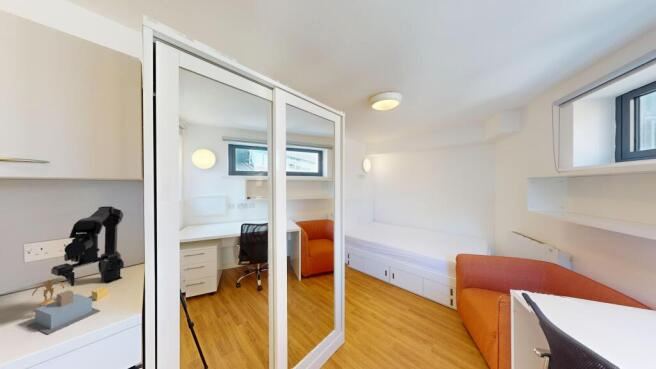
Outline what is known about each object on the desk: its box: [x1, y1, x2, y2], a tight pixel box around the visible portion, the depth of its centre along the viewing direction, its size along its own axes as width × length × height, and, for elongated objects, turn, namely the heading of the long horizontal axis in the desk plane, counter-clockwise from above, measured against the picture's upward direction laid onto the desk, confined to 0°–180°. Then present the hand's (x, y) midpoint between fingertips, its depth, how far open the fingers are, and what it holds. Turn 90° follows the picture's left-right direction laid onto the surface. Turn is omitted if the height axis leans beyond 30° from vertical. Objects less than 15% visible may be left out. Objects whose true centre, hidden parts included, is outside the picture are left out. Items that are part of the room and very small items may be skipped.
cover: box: [34, 289, 93, 329], centre depth 82 cm, size 11×11×10 cm
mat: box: [27, 307, 101, 336], centre depth 82 cm, size 14×14×1 cm
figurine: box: [31, 280, 65, 307], centre depth 87 cm, size 8×6×12 cm
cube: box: [91, 286, 109, 302], centre depth 96 cm, size 4×4×4 cm
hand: (87, 280), depth 89 cm, fingers open, 9 cm apart
